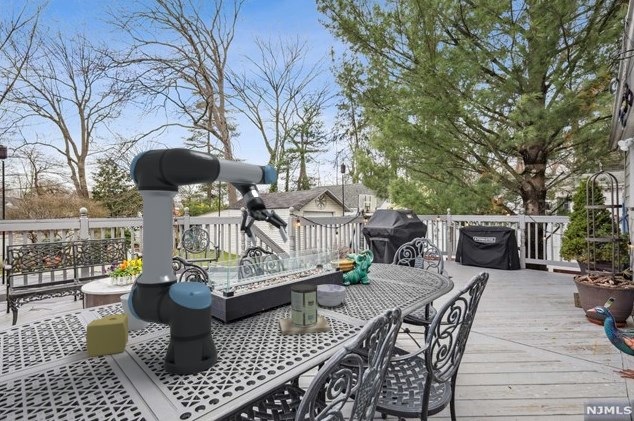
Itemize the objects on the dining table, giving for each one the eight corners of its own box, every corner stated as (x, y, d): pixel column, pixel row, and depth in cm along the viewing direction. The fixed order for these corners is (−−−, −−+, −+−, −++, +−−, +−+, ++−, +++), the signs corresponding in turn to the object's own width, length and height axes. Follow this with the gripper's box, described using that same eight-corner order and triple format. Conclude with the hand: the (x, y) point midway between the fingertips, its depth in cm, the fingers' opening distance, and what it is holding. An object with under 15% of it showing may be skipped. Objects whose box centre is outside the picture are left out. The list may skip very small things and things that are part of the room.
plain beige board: (282, 334, 125) (282, 330, 125) (279, 322, 137) (279, 319, 137) (330, 331, 128) (330, 327, 128) (322, 319, 141) (322, 315, 141)
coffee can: (300, 316, 140) (300, 282, 140) (322, 321, 135) (322, 285, 134) (285, 324, 131) (285, 287, 131) (308, 329, 126) (308, 291, 126)
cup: (123, 335, 125) (123, 301, 125) (117, 326, 134) (117, 294, 134) (158, 327, 132) (158, 295, 132) (150, 319, 142) (150, 289, 141)
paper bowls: (345, 299, 170) (345, 284, 170) (345, 309, 155) (345, 291, 155) (315, 299, 172) (315, 283, 171) (311, 308, 156) (311, 291, 156)
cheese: (94, 345, 116) (93, 316, 116) (130, 340, 120) (129, 312, 120) (85, 358, 106) (85, 326, 106) (125, 353, 110) (124, 322, 110)
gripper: (277, 209, 156) (294, 245, 144) (224, 210, 142) (238, 250, 130) (283, 197, 152) (301, 233, 140) (228, 197, 138) (243, 237, 126)
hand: (271, 241), depth 135 cm, fingers open, 13 cm apart
